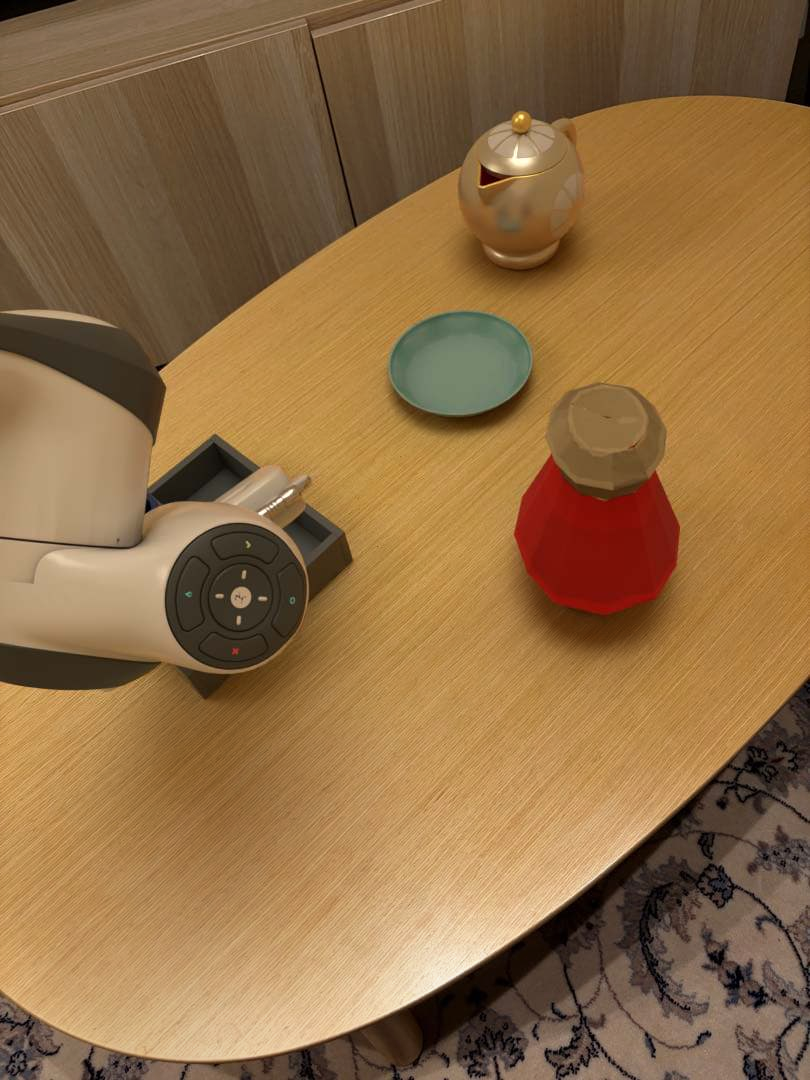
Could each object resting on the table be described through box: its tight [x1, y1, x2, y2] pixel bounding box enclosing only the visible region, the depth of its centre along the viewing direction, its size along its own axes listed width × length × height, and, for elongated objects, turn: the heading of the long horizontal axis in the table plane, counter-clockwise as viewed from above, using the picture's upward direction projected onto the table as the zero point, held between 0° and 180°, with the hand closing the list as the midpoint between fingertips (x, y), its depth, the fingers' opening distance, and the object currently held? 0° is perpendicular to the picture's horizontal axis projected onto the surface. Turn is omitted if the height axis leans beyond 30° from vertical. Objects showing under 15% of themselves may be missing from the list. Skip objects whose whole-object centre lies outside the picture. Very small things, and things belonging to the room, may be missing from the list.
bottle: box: [513, 381, 681, 616], centre depth 68 cm, size 16×14×20 cm
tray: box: [147, 433, 354, 700], centre depth 78 cm, size 18×18×5 cm
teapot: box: [457, 110, 586, 271], centre depth 94 cm, size 18×14×16 cm
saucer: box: [387, 309, 534, 418], centre depth 89 cm, size 15×15×3 cm
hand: (163, 557), depth 68 cm, fingers closed on navy bottle, 6 cm apart
